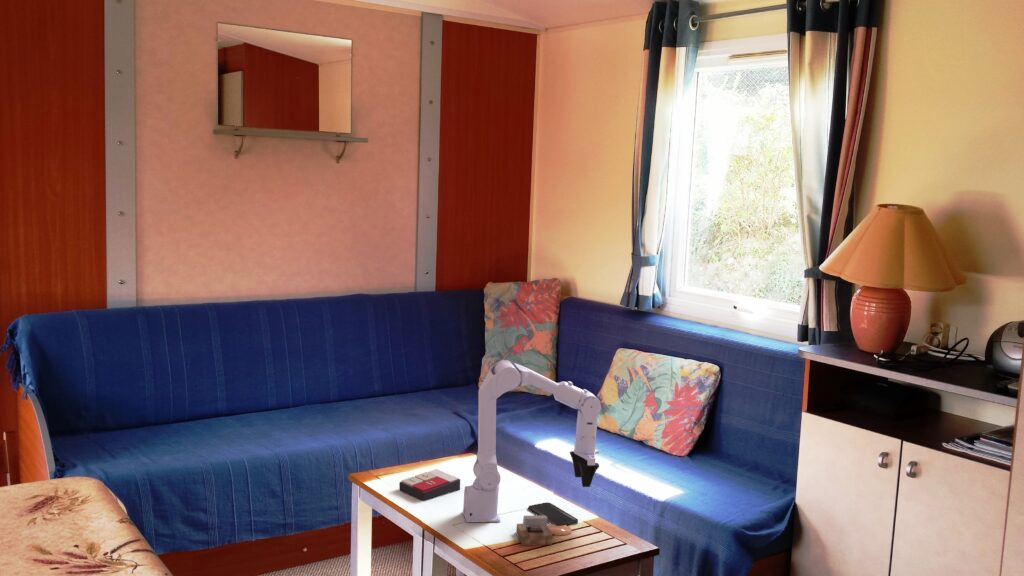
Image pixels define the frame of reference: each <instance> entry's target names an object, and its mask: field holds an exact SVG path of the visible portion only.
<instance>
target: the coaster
mask: <svg viewBox="0 0 1024 576" xmlns="http://www.w3.org/2000/svg"><path fill="white" fill-rule="evenodd" d="M567 525H568V524H566V525H561V526H557V525H554V524H550V523H549V524H547V526H548V528H549V529H550V531H551V533H552V535H553V536H568V535H569V534H571V533H572V531H573V530H572V527H571V526H570V525H568V526H567Z"/></svg>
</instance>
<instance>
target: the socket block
mask: <svg viewBox="0 0 1024 576" xmlns="http://www.w3.org/2000/svg"><path fill="white" fill-rule="evenodd" d="M547 525H548V524H547ZM547 525H546V526H541V532H540V533H529V526H525V525H524V523H516V535H517V534H518V535H517V536H519V537H518V539H519V541H520V543H521V545H522V546H534V545H533V544H539V545H538V546H542V545H545V546H546V545H547V546H548V545H550V546H551V545H553V540H554V539H553V538H554V534H552V533H551V531H550V529H549V528H548V526H547Z"/></svg>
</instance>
